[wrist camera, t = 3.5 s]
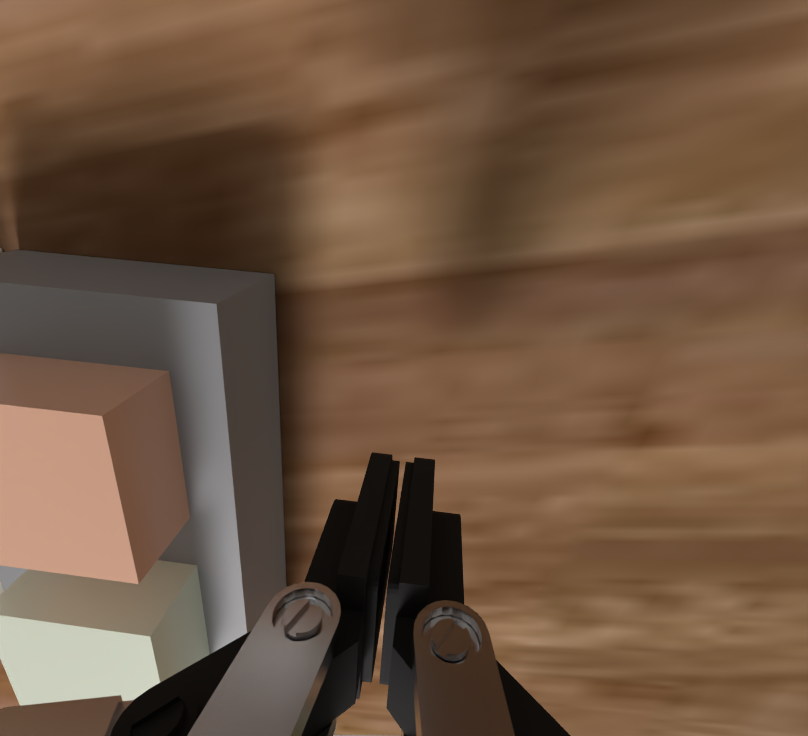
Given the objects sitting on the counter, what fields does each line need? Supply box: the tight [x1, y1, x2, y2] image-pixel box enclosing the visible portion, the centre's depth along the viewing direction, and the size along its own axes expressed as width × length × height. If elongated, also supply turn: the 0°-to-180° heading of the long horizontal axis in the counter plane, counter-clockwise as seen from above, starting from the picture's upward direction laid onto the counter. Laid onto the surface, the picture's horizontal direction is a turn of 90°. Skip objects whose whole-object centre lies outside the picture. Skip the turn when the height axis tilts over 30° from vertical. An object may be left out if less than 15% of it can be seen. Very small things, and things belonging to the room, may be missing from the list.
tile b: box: [0, 560, 210, 706], centre depth 15 cm, size 5×5×2 cm
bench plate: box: [0, 250, 287, 654], centre depth 16 cm, size 16×9×4 cm, turn 176°
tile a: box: [0, 353, 190, 584], centre depth 12 cm, size 5×5×2 cm
